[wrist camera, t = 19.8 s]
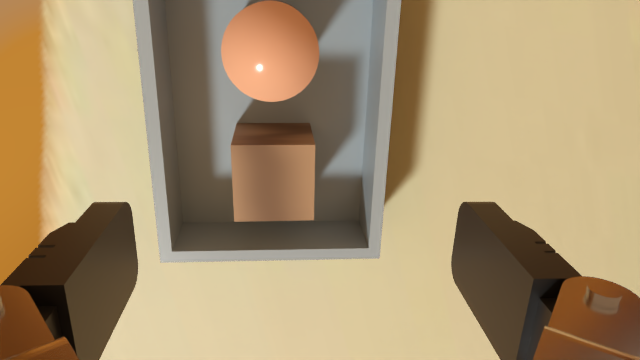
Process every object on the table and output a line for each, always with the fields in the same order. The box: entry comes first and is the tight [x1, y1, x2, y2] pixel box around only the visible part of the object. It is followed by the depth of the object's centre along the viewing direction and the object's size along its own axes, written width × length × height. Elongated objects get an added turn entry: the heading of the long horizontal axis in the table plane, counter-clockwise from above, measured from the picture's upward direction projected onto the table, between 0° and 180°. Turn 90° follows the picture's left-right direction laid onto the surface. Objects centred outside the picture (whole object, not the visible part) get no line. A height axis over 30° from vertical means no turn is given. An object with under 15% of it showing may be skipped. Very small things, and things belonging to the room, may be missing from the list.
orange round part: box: [221, 0, 319, 102], centre depth 28 cm, size 5×5×7 cm
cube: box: [231, 123, 315, 222], centre depth 32 cm, size 5×5×5 cm
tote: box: [133, 0, 401, 263], centre depth 31 cm, size 15×20×5 cm
